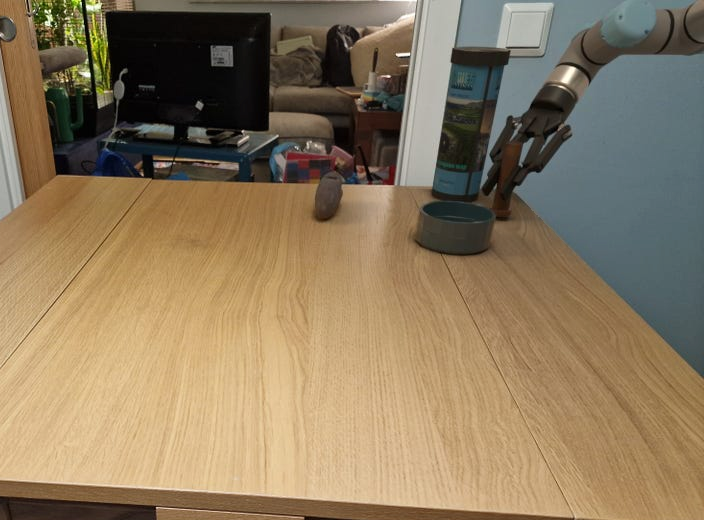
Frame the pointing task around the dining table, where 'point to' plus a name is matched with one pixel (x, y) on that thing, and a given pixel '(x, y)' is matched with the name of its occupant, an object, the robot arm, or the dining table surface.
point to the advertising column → (468, 121)
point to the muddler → (506, 177)
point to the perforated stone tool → (328, 194)
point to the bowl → (455, 227)
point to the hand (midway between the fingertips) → (493, 194)
